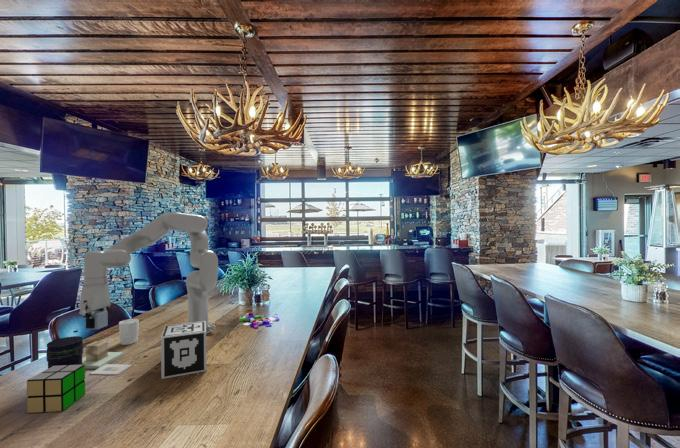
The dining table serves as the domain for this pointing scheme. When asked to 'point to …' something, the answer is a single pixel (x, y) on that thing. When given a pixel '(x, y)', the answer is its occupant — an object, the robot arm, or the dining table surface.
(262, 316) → the flower wreath
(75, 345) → the storage jar
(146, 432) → the dining table surface
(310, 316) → the dining table surface
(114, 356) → the board
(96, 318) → the slate block
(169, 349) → the block
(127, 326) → the white cup
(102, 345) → the maple block
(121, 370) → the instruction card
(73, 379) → the puzzle cube
